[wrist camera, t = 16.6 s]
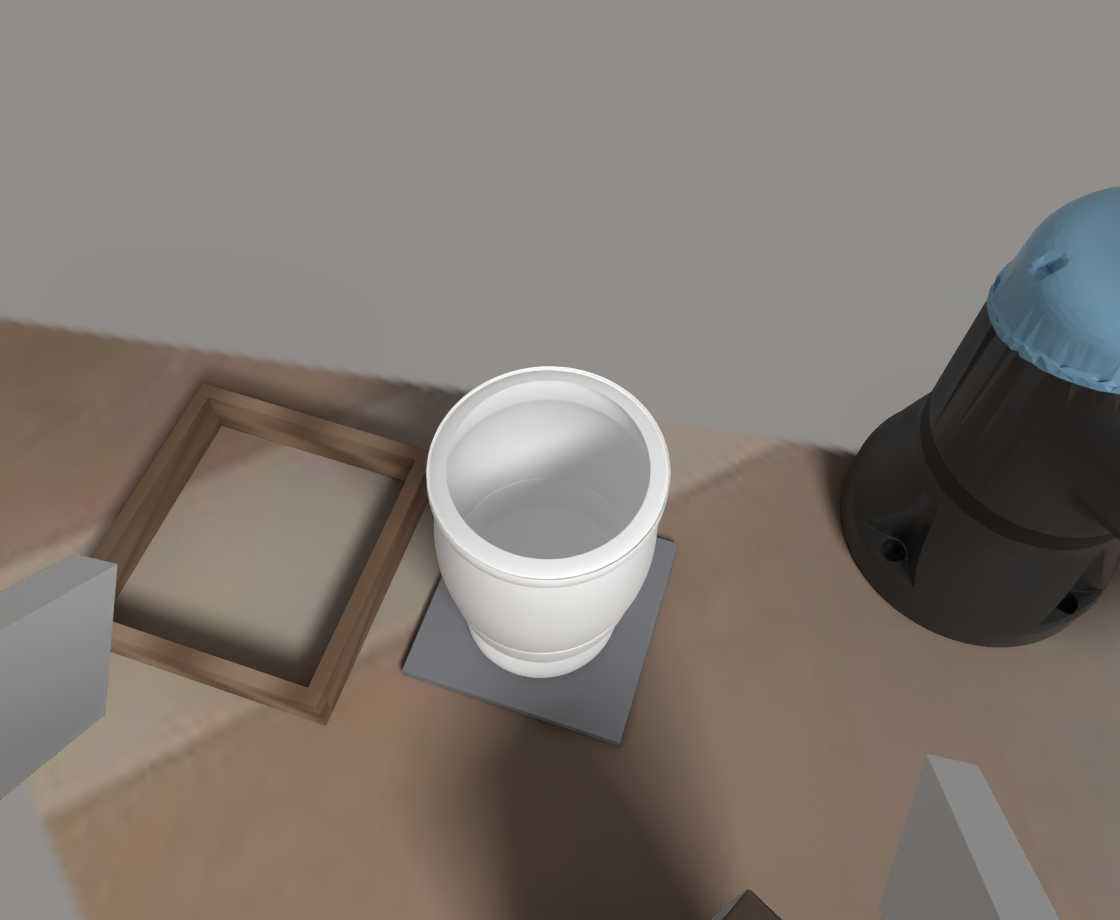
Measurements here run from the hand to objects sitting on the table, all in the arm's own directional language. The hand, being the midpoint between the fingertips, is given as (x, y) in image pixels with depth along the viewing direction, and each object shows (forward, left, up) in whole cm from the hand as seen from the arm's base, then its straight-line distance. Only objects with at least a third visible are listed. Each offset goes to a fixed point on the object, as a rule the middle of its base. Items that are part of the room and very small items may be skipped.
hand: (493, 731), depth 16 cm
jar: (+4, -17, -35) cm, 39 cm away
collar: (+20, -15, -36) cm, 43 cm away
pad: (+4, -17, -36) cm, 40 cm away
